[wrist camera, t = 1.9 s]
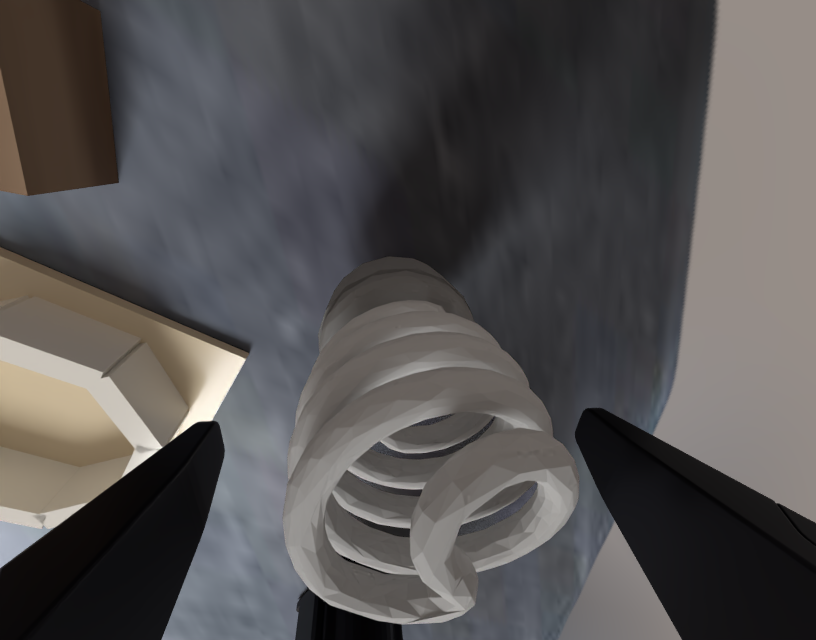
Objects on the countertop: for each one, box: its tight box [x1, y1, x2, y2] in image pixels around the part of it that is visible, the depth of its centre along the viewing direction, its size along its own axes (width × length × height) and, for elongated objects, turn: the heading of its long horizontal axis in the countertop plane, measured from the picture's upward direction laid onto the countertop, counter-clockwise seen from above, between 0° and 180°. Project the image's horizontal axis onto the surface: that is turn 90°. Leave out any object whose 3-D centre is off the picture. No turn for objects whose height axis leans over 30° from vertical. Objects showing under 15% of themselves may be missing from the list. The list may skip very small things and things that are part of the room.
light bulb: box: [283, 256, 579, 624], centre depth 10 cm, size 6×6×12 cm
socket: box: [0, 247, 249, 529], centre depth 15 cm, size 12×12×3 cm
